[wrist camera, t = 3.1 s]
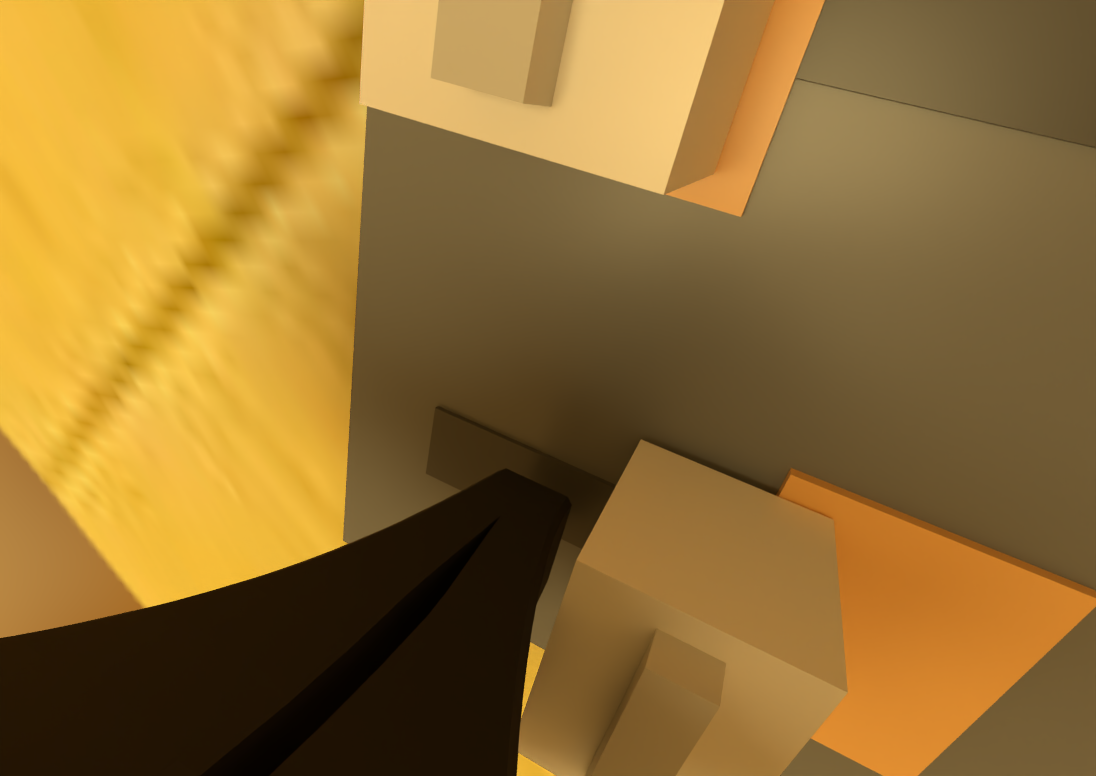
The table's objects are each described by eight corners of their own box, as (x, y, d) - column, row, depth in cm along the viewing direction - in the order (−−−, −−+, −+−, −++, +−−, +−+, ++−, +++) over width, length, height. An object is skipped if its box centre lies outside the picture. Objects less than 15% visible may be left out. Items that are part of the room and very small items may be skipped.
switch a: (833, 520, 8) (851, 743, 5) (730, 681, 10) (700, 912, 7) (641, 438, 9) (558, 593, 6) (579, 605, 11) (493, 784, 8)
